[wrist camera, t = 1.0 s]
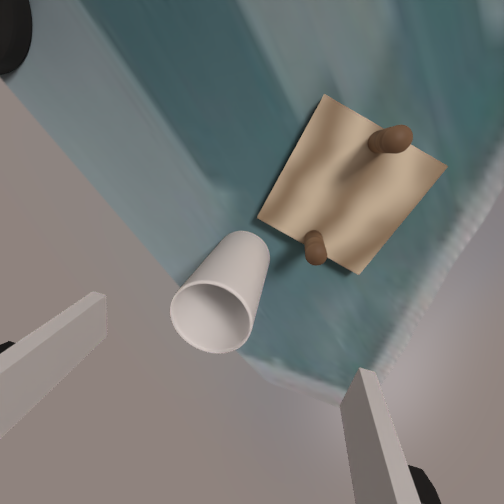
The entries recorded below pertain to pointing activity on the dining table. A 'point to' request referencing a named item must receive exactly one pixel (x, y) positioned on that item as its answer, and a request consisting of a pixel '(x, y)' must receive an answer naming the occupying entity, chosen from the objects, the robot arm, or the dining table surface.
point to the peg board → (348, 186)
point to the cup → (222, 295)
